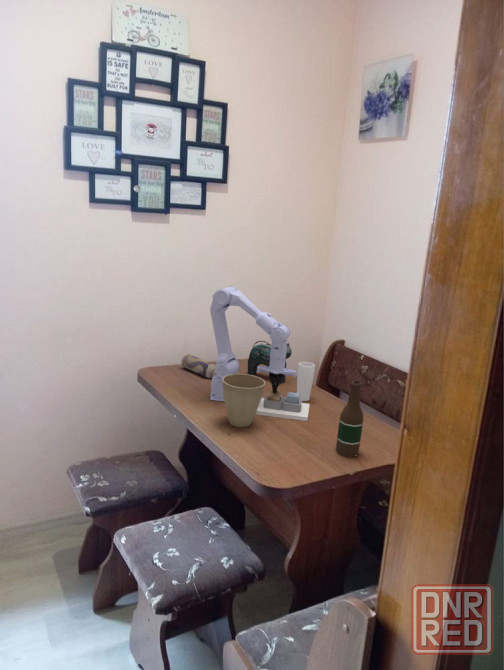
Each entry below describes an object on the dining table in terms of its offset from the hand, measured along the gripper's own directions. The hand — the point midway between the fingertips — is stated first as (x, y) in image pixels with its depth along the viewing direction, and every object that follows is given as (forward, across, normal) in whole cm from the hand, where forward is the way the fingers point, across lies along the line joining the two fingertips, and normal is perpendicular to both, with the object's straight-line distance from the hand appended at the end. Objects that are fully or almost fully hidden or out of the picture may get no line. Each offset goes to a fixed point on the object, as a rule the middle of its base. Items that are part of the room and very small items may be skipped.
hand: (274, 392), depth 203 cm
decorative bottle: (+7, -35, +30) cm, 47 cm away
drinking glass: (+7, +10, +15) cm, 20 cm away
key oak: (+3, 0, 0) cm, 3 cm away
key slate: (+3, +7, 0) cm, 7 cm away
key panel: (+7, +4, 0) cm, 8 cm away
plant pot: (+7, -10, -17) cm, 21 cm away
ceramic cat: (+7, -7, +35) cm, 37 cm away
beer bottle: (+7, +28, -28) cm, 40 cm away
